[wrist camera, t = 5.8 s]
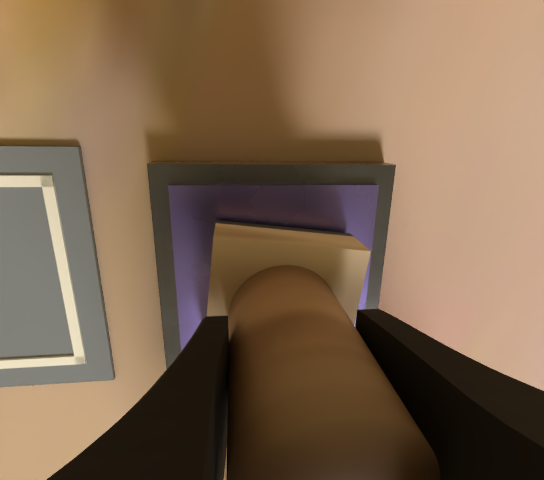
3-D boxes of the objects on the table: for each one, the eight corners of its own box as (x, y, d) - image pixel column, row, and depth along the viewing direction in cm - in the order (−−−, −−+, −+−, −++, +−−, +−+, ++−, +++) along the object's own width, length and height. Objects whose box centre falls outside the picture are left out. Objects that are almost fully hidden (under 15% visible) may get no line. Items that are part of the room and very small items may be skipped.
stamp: (326, 347, 14) (434, 592, 7) (205, 341, 14) (173, 609, 6) (350, 233, 13) (520, 381, 5) (216, 220, 12) (190, 370, 5)
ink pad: (362, 352, 16) (373, 370, 15) (171, 364, 15) (166, 384, 14) (384, 162, 14) (399, 165, 12) (153, 161, 13) (145, 164, 11)
